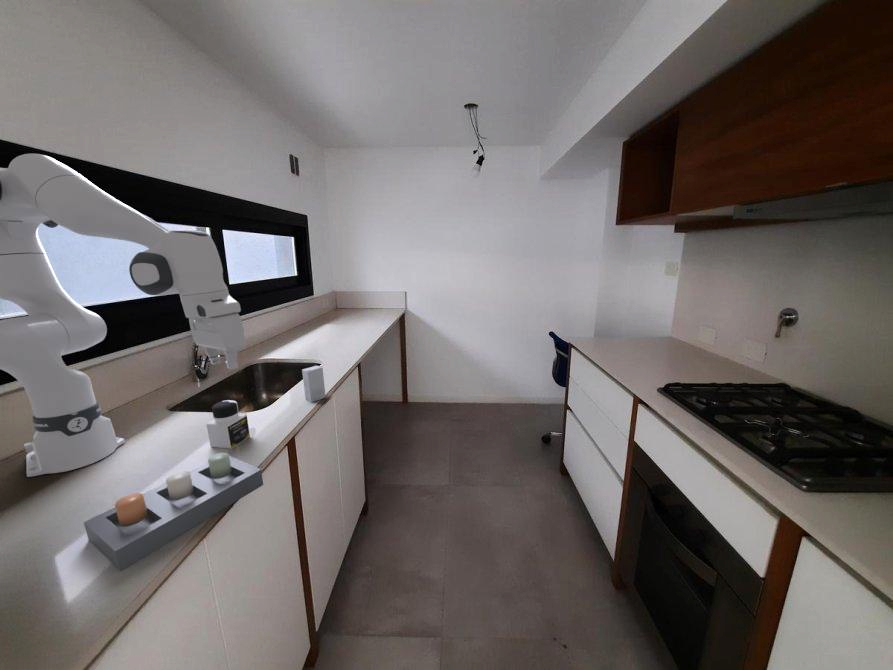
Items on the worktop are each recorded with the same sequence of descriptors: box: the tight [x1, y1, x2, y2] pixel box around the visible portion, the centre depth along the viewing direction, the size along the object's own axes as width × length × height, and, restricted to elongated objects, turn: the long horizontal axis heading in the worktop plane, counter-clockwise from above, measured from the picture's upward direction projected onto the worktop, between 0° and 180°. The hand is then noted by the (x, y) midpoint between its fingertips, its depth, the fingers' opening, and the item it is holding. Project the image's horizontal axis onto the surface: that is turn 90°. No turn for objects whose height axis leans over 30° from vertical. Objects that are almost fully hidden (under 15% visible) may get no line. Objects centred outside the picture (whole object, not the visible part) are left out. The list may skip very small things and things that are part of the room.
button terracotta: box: [114, 492, 148, 527], centre depth 66 cm, size 4×4×4 cm
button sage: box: [207, 452, 232, 479], centre depth 80 cm, size 4×4×4 cm
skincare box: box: [301, 365, 327, 403], centre depth 130 cm, size 6×4×12 cm
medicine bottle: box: [206, 399, 251, 450], centre depth 100 cm, size 7×7×12 cm
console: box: [83, 455, 264, 572], centre depth 74 cm, size 14×26×4 cm, turn 151°
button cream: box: [165, 470, 194, 500], centre depth 73 cm, size 4×4×4 cm
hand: (224, 366), depth 80 cm, fingers open, 8 cm apart
